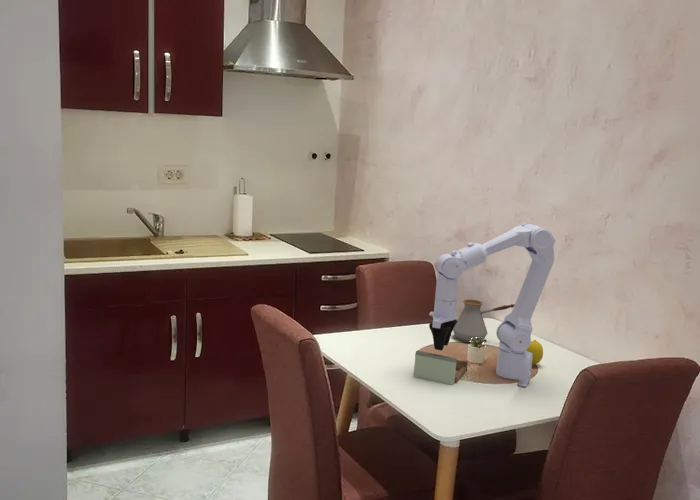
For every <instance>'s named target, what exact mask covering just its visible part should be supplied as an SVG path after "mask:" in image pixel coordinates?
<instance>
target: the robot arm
mask: <svg viewBox="0 0 700 500" xmlns="http://www.w3.org/2000/svg"><path fill="white" fill-rule="evenodd" d="M555 242H556V238H555V237H554V235H553V232H551V231H550V230H549V229H548V228H546V227H542V226H539V225H536V224H533V223H531V222H525V223H522V224H521V225H517V226H515V227H513V228H512V229H510V230H509V231H506V232H505V233H502V234H500V235H499V236H495V237H494V238H492V239H490V240H488V241H486V242H484V243H482V244H481V243H479V242H472V241H471V242H468V243H467V246H464V247H462V248H460V249H458V250H452V251H451V254H448V253H443V254H441V255H440V256H439V257H438V258H437V259H436V262H435V263H434V268H435V270H436V272H437V273H436V274H437V276H436V277H437V279H436V285H435V294H434V295H435V296H434V306H433V307H434V309H433V311H430V312H429V313H428V315H429V316H430V317H432V319H433V320H432V322H430V323H429V324H428V325H429V330H430V332H431V335H432V340H433V347H434V348H433V349H434V350H436V351H443V349H444V348H445V346H448V345H449V343H450V338H451V336H452V333H453V328H454V327H455V325H456V323H457V320H458V319H457V318H456V309H457V296H458V287H459V278H460V277H461V276H462V274H463V272H465V271H467V270H470V269H471V268H474V267H476V266H478V265H481V264H483V263H485V262H486V260H487V258H488V256H491V255H493V254H495V253H498V252H501V251H503V250H506V249H508V248H511V247H516V246H517V247H523V248H524V249H525V250H526V251H527V253H528V254H529V257H530V258H531V263H530V266H529V268H528V270H527V272H526V276H525V278H524V281H523V282H522V285H521V288H520V291H519V293H518V296H517V298H516V300H515V303H514V304H515V305H514V304H513V305H514V307H513V308H512V311H511V312H510V313H508V314H507V315H505V316H504V319H503V321H502V322H501V323H500V324H499V325H498V326H497V328H496V337H497V339H498V340H499V344H498V350H497V351H498V352H497V360H496V361H497V362H496V369H495V374H496V375H497V376H499V377H500V378H504V379H509V380H515V381H518V382H517V383H516V386H518V387H527V386H528V385H529V382H530V380H531V376H532V367H533V365H532V359H533V353H531V352H528V351H526V350H527V349H528V347H529V346H530V343H531V341H532V336H531V335H532V331H533V327H532V321H531V319H532V317H533V314H534V312H535V310H536V307H537V305H538V302H539V299H540V297H541V294H542V293H543V290H544V287H545V285H546V282H547V279H548V277H549V275H550V273H551V269H552V267H553V265H554V263H555V251H554V249H555V247H554V246H555Z"/></svg>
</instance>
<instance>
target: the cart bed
mask: <svg viewBox="0 0 700 500" xmlns="http://www.w3.org/2000/svg"><path fill="white" fill-rule="evenodd" d="M426 352H427V351H426ZM427 353H429V352H427ZM431 353H432V352H431ZM432 354H434V353H432ZM468 362H469V360H467V359H462V358H457V360H456V370H455V380H454V384H457V383H458V382H459V381H460V380H461V379H462V377H463V376H465V374H466V373H467V372H468V365H469V364H468Z"/></svg>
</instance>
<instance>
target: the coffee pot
mask: <svg viewBox="0 0 700 500" xmlns="http://www.w3.org/2000/svg"><path fill="white" fill-rule="evenodd" d="M462 301H463V305H464V307H463V309H462V311H461V313H460V315H459V317H458V318H457V319H456V320H457V323H456V325H455V327H454V328H453V331H452V333H453V335H455V337H457V339H458V340H459V341H461V342H465V343H470V342H469V341H470V340H471V338H472V337H482V338H484V339H485V338H486V337H487V335H488V331H487V330H488V329H487V327H486V324H485V320H484V318H483V314H487V313H491V312H497V311H501V310H502V311H503V310H507V309H510V308H512V309H513V308H514V305H515V303H514V304H513V303H511V304H509V305H508V304H507V305H502V306H501V305H500V306H497V307H494V308H489V309H486V310H485V309H484V310H481V307H482V306H483V304H484V303H483V302H482V301H480V300H477V299H465V300H464V299H463V300H462Z"/></svg>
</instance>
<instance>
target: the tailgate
mask: <svg viewBox="0 0 700 500" xmlns="http://www.w3.org/2000/svg"><path fill="white" fill-rule="evenodd" d="M414 356H415V357H414V367H413V368H414V369H413V377H415V378H419V379H424V380H428V381H429V380H430V381H433V382H438V383H442V384H447V385H452V386H454V384H455V383H454V380H455V370H456V360H457V359H458V358H456V357H451V356H447V355H441V354H436V353H433V354H432V352H428V353H427V351H421V350H415V355H414Z"/></svg>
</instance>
